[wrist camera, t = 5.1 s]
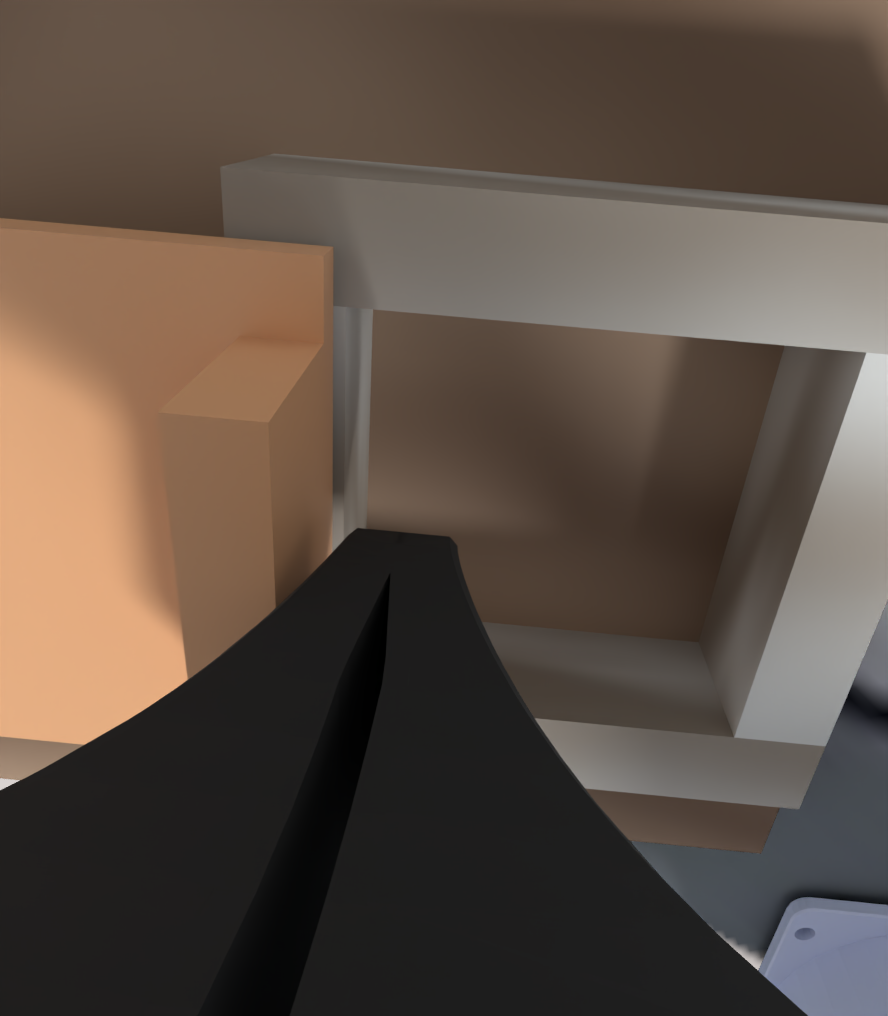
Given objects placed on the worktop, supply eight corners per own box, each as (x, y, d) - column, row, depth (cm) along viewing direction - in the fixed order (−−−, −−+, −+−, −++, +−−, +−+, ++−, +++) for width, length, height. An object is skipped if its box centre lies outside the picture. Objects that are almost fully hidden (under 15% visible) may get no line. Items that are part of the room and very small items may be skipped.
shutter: (331, 740, 13) (287, 913, 10) (-107, 698, 13) (-267, 857, 10) (333, 246, 9) (264, 309, 6) (-286, 193, 9) (-617, 232, 6)
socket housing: (742, 800, 19) (799, 962, 15) (-20, 725, 19) (-136, 867, 16) (1088, -135, 10) (1400, -258, 7) (-300, -240, 11) (-700, -412, 7)
